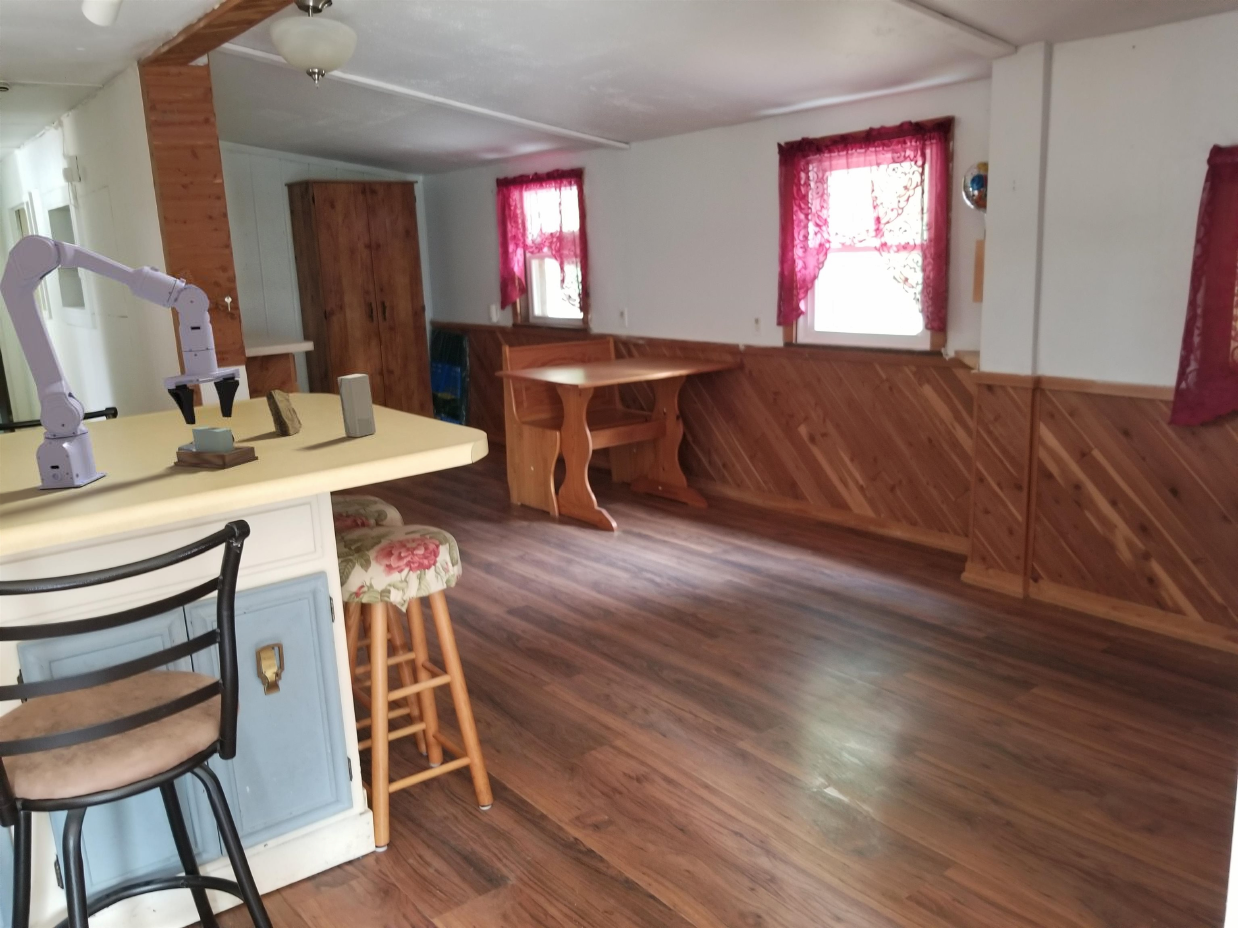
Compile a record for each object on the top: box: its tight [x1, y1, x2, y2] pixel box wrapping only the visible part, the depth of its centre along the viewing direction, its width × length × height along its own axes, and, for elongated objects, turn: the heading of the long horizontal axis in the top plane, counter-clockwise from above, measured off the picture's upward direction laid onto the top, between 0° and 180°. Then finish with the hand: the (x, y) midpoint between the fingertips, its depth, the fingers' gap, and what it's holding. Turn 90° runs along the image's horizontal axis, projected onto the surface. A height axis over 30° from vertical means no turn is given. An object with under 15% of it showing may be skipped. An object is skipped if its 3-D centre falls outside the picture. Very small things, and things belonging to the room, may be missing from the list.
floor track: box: [173, 445, 259, 470], centre depth 186 cm, size 14×8×3 cm, turn 63°
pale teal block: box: [191, 425, 235, 453], centre depth 185 cm, size 9×3×6 cm, turn 55°
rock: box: [265, 389, 303, 437], centre depth 215 cm, size 11×9×10 cm
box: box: [337, 373, 377, 438], centre depth 204 cm, size 5×4×13 cm
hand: (209, 420), depth 184 cm, fingers open, 7 cm apart
